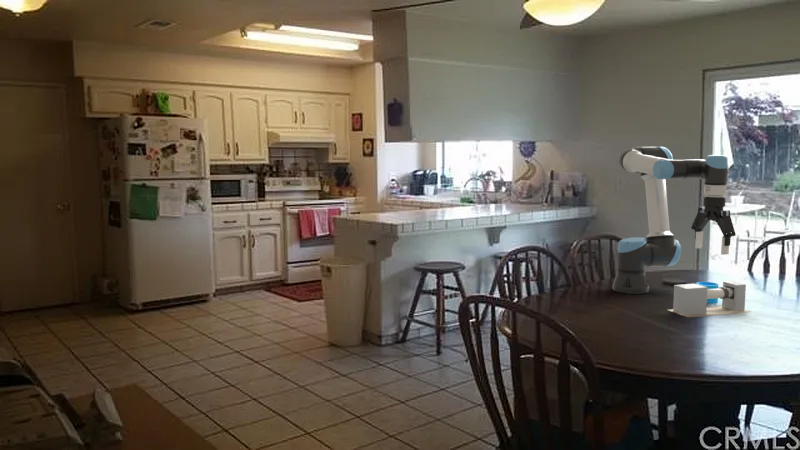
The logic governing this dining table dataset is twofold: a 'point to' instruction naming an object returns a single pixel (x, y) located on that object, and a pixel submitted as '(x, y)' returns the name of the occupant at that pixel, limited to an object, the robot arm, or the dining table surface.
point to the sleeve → (690, 299)
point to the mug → (710, 286)
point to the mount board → (714, 311)
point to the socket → (735, 296)
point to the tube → (720, 293)
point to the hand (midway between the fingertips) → (711, 251)
